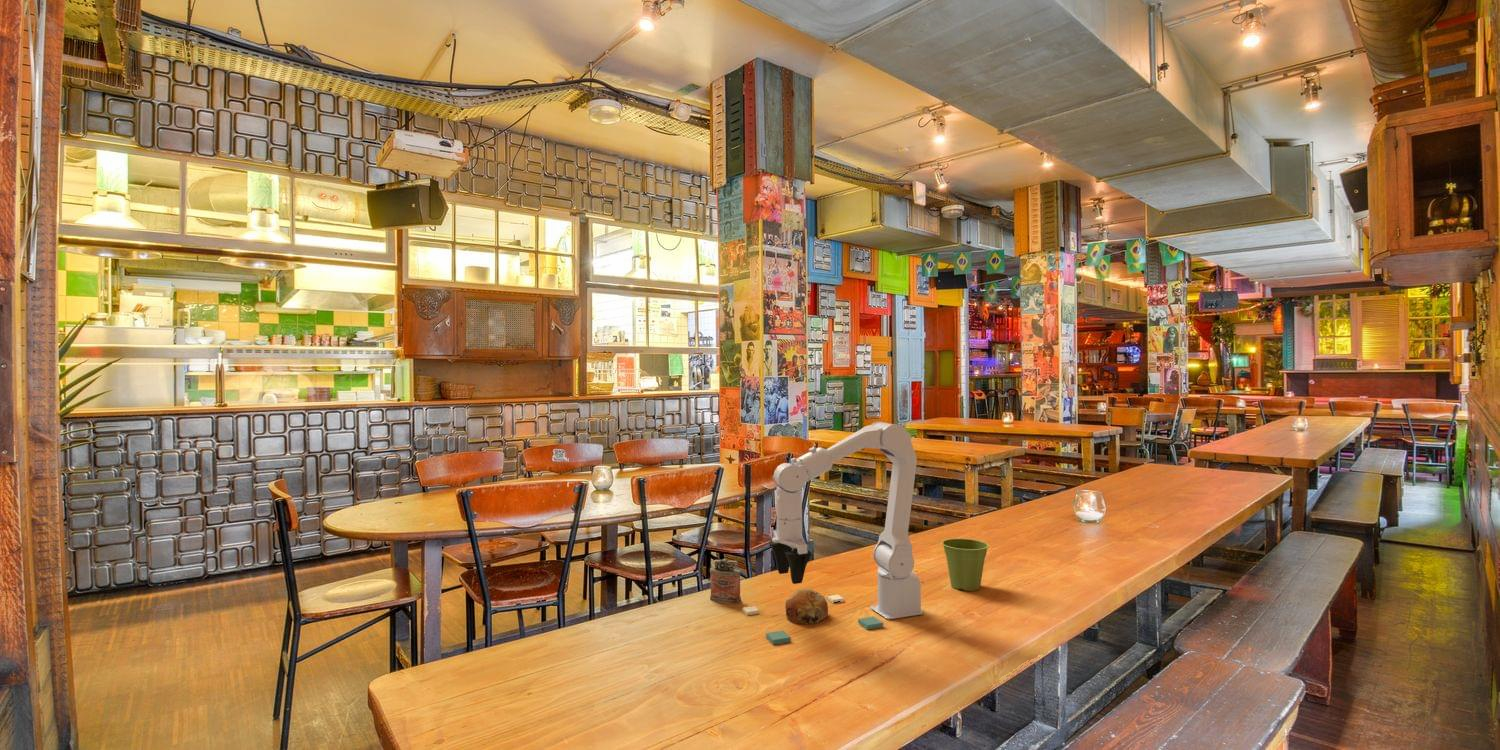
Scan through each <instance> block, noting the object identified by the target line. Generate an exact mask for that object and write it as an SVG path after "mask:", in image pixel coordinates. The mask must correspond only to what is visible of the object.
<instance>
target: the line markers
mask: <svg viewBox="0 0 1500 750" xmlns="http://www.w3.org/2000/svg"><path fill="white" fill-rule="evenodd" d="M827 599H828V601H829V600H830V601H831V602H838V601H844V597H842V596H841V595H839V594H832V595H826V600H827ZM830 601H829V602H830ZM831 602H830V603H831ZM838 603H839V602H838ZM742 612H743V613H744V614H745V615H746V616H752V615H759V614H760V610H759V609H758V608H757V607H756V606H755V605H752V606H743V607H742ZM858 623H859V625H860V626H861V627H862V628H863V629H865V630H867V631H868V630H875V629H879V628H880V629H881V628H884V622H883V621H882V620H880V619H878V618H877V617H875V616H869V617H867V616H866V617H860V618H857V624H858ZM765 638H766V640H768V641H769V643H771V645H774V646H775V645H781V644H786V643H787V644H788V643H791V642H792V637H791V636H790V635H789V634H788V633H787V632H786V631H785V630H784V629H783V630H777V631H768V632H765Z"/></svg>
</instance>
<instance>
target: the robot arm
mask: <svg viewBox="0 0 1500 750" xmlns="http://www.w3.org/2000/svg"><path fill="white" fill-rule="evenodd" d="M863 449H873V450H874V449H876V450H879V451H880V452H882V453H883V454H884V456H886V457H887V459H888V460H889V461H890V463H892V465H891V467H892V468H891V474H890V475H891V476H890V482H889V492H888V499H887V507H886V515H885V524H884V530H883V531H882V532H881V533H880V534H879V535H878V541H877V544H876V545H875V547H874V548H873V554H872V555H873V556H872V557H873V560H874V562H875V563H876V565H878V567H877V605H870V609H871V611H875V612H876V613H878V614H879V615H880V616H882V617H884V618H885V619H887V620H892V619H893V620H894V619H899V618H900V619H901V618H907V617H914V616H920V615H924V611H922V589H921V588H922V585H921V581H920V578H919V576H918V575H917V574H916V573H915V572H914V571H913V569H914V568H915V559H914V556H913V544H912V541H911V539H910V537H909V529H910V519H911V511H912V503H913V502H912V501H913V496H914V488H915V479H916V471H917V463H918V457H917V454H916V451H915V449H914V446H913V444H912V435H911V433H909V432H908V431H907V429H906V428H904V427H903V426H902V425H900V424H895V423H894V424H893V423H888V422H884V421H875V422H873V423H871V424H869V425H866V426H863V427H862V428H860V429H859V430H857V431H856V432H854V433H852V434H850V435H848V436H847V437H845V438H843V439H842V440H840V441H838V442H835V444H833V445H832V446H830V447H828V448H823V447H820V446H819V447H814V446H813V447H810V448H808V452H807V453H805V454H803V455H801V456H798V457H797V458H796V457H793V458H791V459H790V462H789V463H788V462H784V463H780V464H779V465H777V467H776V469H774V473H773V475H772V480H773V482H774V484H775V485H776V496H775V497H776V498H775V500H776V501H775V502H776V504H775V505H776V509H775V510H776V529H774V530H773V531H772V532H773V533H772V535H773V536H772V537H771V541H769V542H768V545H769V547H770V549H771V551H772V553H773V556H774V559H775V563H776V567H777V572H778V574H780V575H782V574H789V571H790V579H791V583H792V584H793V585H797V584H802V583H803V581H804V580H803V579H804V576H805V575H804V574H805V572H806V567H807V566H808V562H809V560H810V558H811V557H812V551H810V550H808V544H807V543H806V540H805V538H804V536H803V502H802V501H803V498H802V489H803V488H804V486H805V485H806V484H805V483H808V482H810V481H812V480H813V479H816V478H817V477H819V476H821V475H823V474H825V473H827V472H830V471H831V470H832V468H833V465H834V463H835V462H837V461H839V460H841V459H843V458H845V457H847V456H850V455H852V454H853V453H856V452H858V451H860V450H863Z"/></svg>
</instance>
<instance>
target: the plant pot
mask: <svg viewBox="0 0 1500 750" xmlns="http://www.w3.org/2000/svg"><path fill="white" fill-rule="evenodd" d="M941 545H942V546H943V551H944V553H945V556H946V561H947V562H946V563H947V569H948V575H949V580H950V581H949V582H950V587H952V588H953V589H955V590H964V591H965V592H970V591H977V590H979V589H980V588H981V584H982V578H983V577H982V576H983V571H984V565H985V559H986V556H987V552H988V549H989V548H990V544H989V543H987V542H985V541H982V540H978V539H973V538H960V537H959V538H957V537H956V538H946V539H943V540H941Z"/></svg>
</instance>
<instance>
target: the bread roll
mask: <svg viewBox="0 0 1500 750" xmlns="http://www.w3.org/2000/svg"><path fill="white" fill-rule="evenodd" d="M828 605H829V603H828V601H827V598H825V597H824V595H822V594H821V593H820V592H818V591H816V590H814V589H810V588H800V589H799V588H798V589H796V590H795V591H794V592H793V593H792V594H791V595H790V596H789V597H787V599H785V605H784V606H785V616H786V618H787V620H789V621H790V622H793V623H794V624H802V623H812V624H815V623H814V622H817V621H820V622H822V621H823V619H824V620H826V618H827V617H828V615H829V607H828ZM821 620H822V621H821ZM817 623H818V622H817Z"/></svg>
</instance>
